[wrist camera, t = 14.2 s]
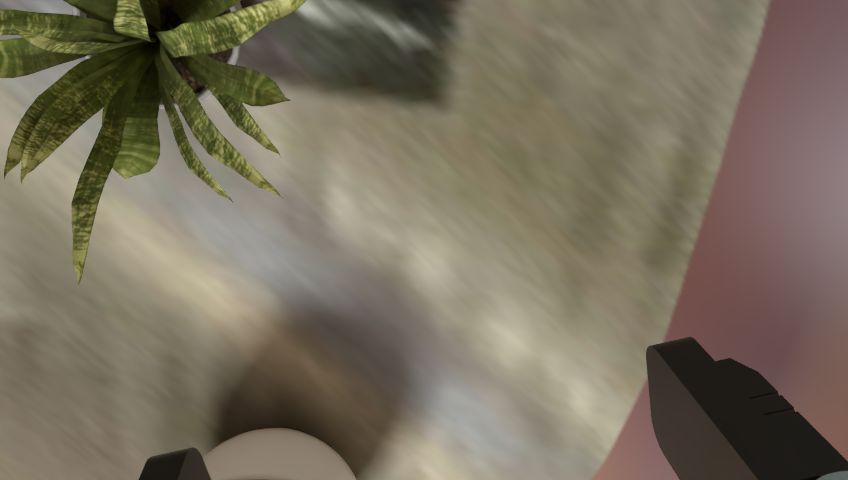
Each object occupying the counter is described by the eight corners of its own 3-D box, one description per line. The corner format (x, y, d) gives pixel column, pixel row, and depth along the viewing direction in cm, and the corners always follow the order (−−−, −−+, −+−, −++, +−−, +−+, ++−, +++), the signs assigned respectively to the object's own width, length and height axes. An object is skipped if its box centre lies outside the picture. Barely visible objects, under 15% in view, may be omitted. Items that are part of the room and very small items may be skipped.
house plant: (333, 180, 39) (307, 319, 24) (82, 166, 38) (-113, 302, 23) (343, -96, 34) (317, -142, 19) (50, -124, 32) (-232, -197, 17)
